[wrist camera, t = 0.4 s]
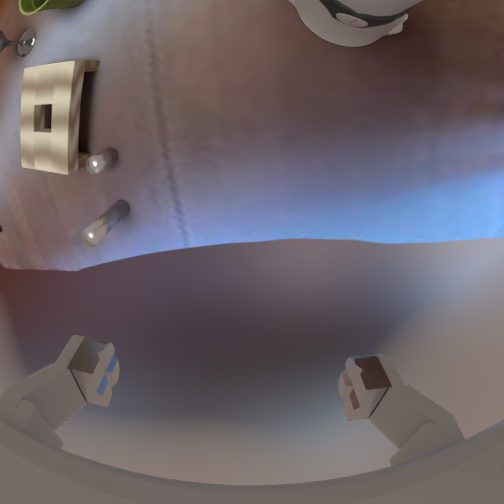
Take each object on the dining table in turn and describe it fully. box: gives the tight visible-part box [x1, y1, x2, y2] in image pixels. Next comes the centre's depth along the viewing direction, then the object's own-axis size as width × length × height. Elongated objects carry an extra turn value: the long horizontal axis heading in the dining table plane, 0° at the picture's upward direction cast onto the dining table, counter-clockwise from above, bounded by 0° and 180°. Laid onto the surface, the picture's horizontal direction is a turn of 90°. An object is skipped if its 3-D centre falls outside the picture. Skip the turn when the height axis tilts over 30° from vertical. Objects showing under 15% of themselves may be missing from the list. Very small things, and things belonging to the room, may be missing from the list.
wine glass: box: [0, 28, 36, 57], centre depth 25 cm, size 8×8×15 cm
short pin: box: [86, 148, 118, 175], centre depth 43 cm, size 3×3×6 cm
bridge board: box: [21, 60, 99, 175], centre depth 37 cm, size 20×14×7 cm
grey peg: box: [82, 200, 130, 247], centre depth 45 cm, size 3×3×12 cm
